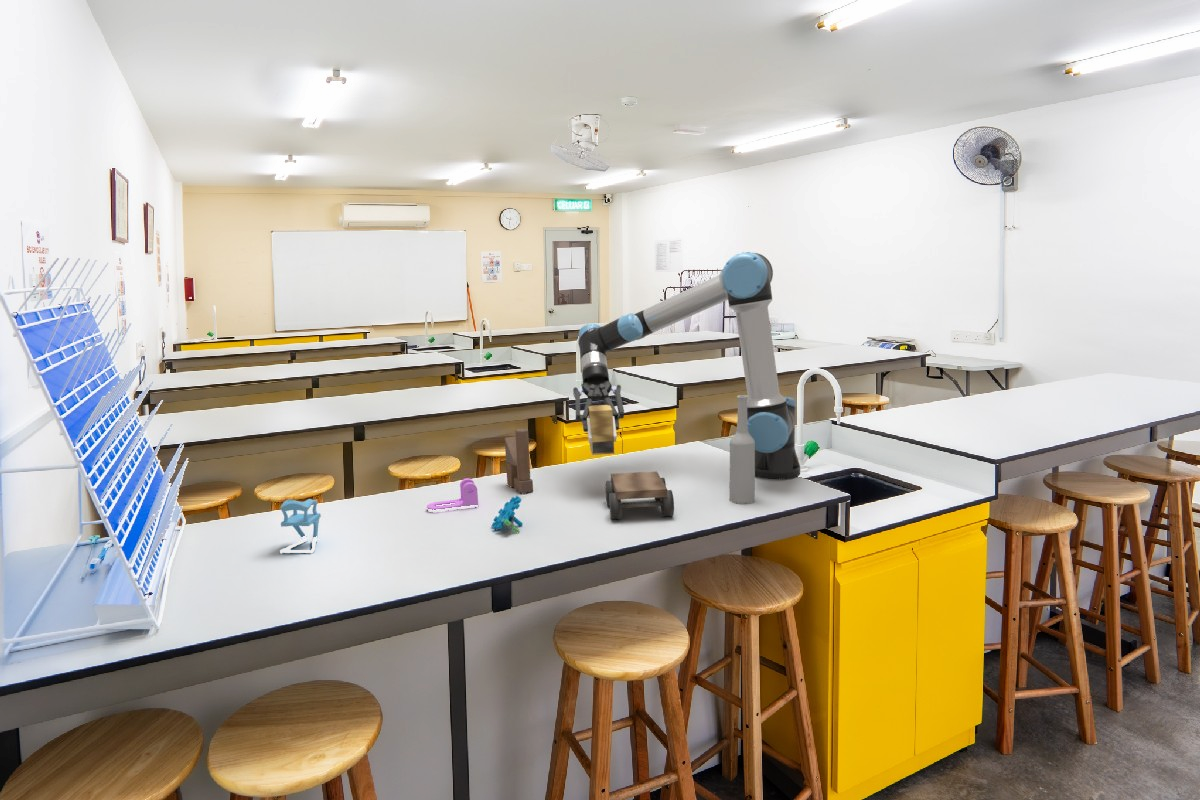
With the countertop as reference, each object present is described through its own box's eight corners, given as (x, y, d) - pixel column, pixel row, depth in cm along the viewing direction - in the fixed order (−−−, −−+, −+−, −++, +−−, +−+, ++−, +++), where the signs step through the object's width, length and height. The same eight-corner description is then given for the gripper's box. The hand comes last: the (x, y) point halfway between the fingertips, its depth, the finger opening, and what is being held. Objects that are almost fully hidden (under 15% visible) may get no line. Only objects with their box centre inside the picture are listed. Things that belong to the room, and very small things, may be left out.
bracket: (475, 502, 200) (473, 477, 199) (478, 508, 195) (476, 482, 194) (426, 508, 196) (424, 483, 195) (428, 514, 191) (426, 489, 190)
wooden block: (518, 483, 216) (515, 423, 213) (533, 492, 207) (530, 429, 204) (506, 485, 214) (503, 424, 211) (521, 494, 205) (518, 431, 202)
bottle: (724, 498, 196) (724, 395, 191) (744, 494, 199) (744, 392, 194) (739, 505, 190) (740, 399, 185) (760, 501, 193) (760, 396, 188)
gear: (490, 514, 184) (517, 487, 182) (508, 528, 186) (535, 501, 184) (487, 536, 174) (516, 507, 172) (506, 550, 175) (535, 522, 173)
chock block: (611, 446, 206) (609, 404, 204) (614, 453, 198) (612, 410, 196) (589, 448, 206) (587, 405, 204) (592, 455, 198) (590, 411, 196)
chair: (327, 540, 174) (322, 491, 172) (312, 553, 166) (307, 502, 164) (295, 541, 175) (290, 492, 173) (279, 554, 167) (273, 503, 165)
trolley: (662, 497, 198) (662, 470, 197) (674, 519, 181) (673, 489, 180) (605, 500, 197) (604, 473, 196) (612, 522, 180) (611, 493, 179)
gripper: (626, 377, 215) (636, 444, 202) (561, 381, 213) (567, 449, 200) (628, 361, 209) (638, 430, 195) (561, 365, 207) (567, 434, 194)
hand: (602, 439), depth 198 cm, fingers closed on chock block, 6 cm apart
